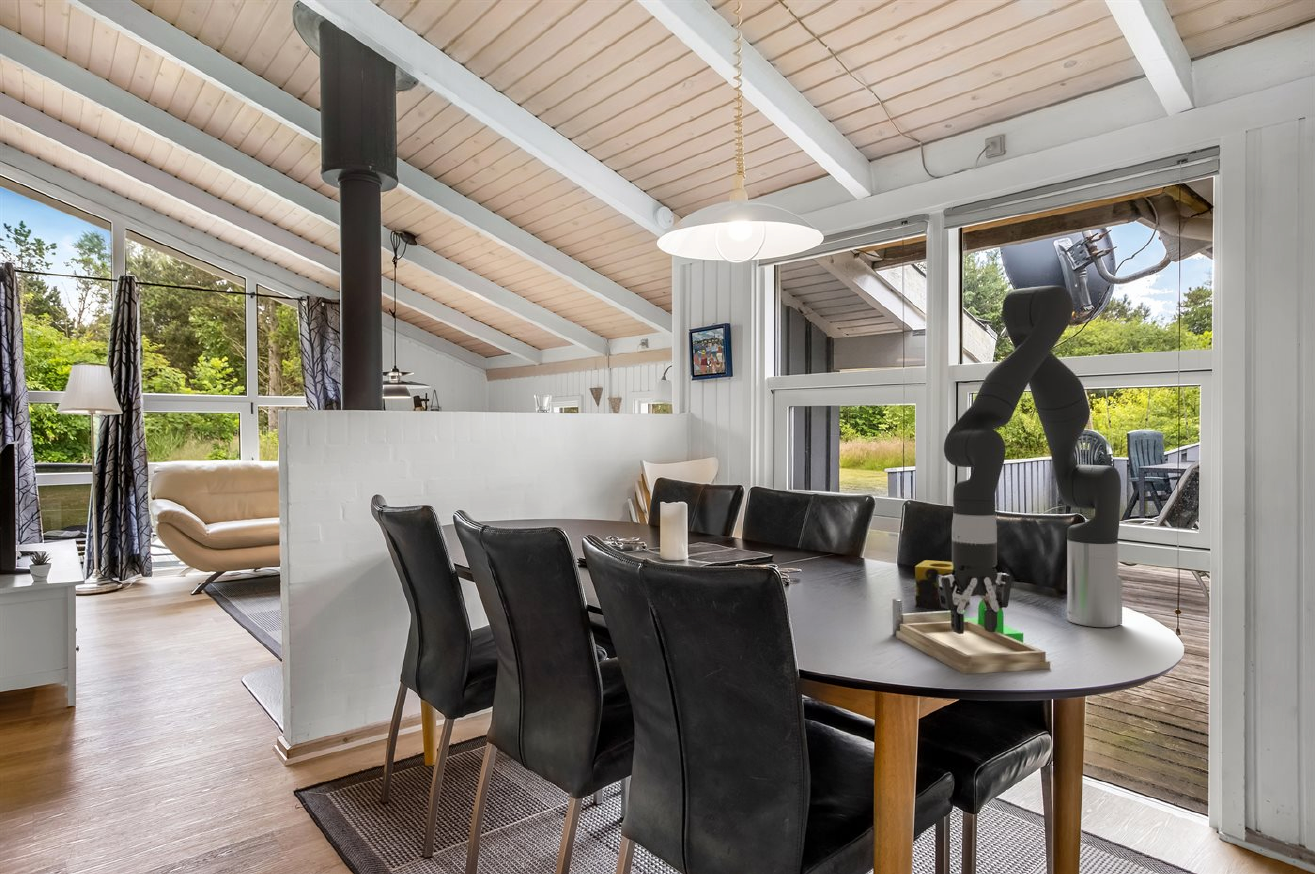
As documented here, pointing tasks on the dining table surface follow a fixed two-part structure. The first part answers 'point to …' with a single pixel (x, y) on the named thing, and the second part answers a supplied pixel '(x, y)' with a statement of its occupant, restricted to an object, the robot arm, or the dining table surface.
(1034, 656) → the wooden tray
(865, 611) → the dining table surface
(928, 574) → the yellow spotted cube
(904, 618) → the l-shaped metal bracket
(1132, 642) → the dining table surface
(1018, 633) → the mechanical part
